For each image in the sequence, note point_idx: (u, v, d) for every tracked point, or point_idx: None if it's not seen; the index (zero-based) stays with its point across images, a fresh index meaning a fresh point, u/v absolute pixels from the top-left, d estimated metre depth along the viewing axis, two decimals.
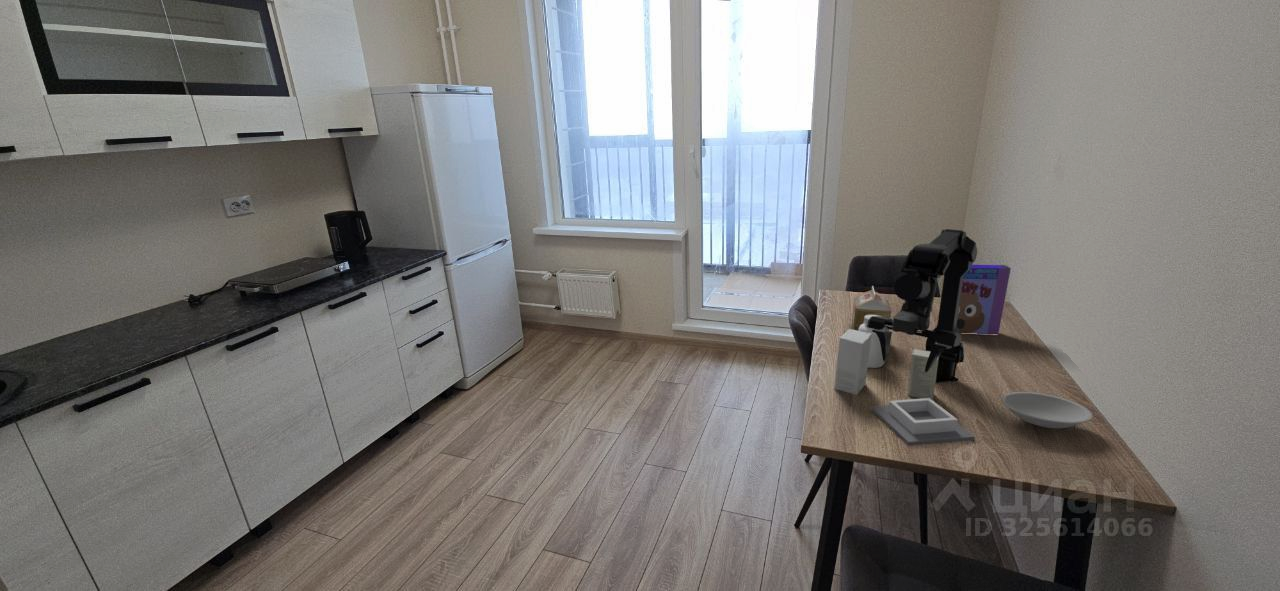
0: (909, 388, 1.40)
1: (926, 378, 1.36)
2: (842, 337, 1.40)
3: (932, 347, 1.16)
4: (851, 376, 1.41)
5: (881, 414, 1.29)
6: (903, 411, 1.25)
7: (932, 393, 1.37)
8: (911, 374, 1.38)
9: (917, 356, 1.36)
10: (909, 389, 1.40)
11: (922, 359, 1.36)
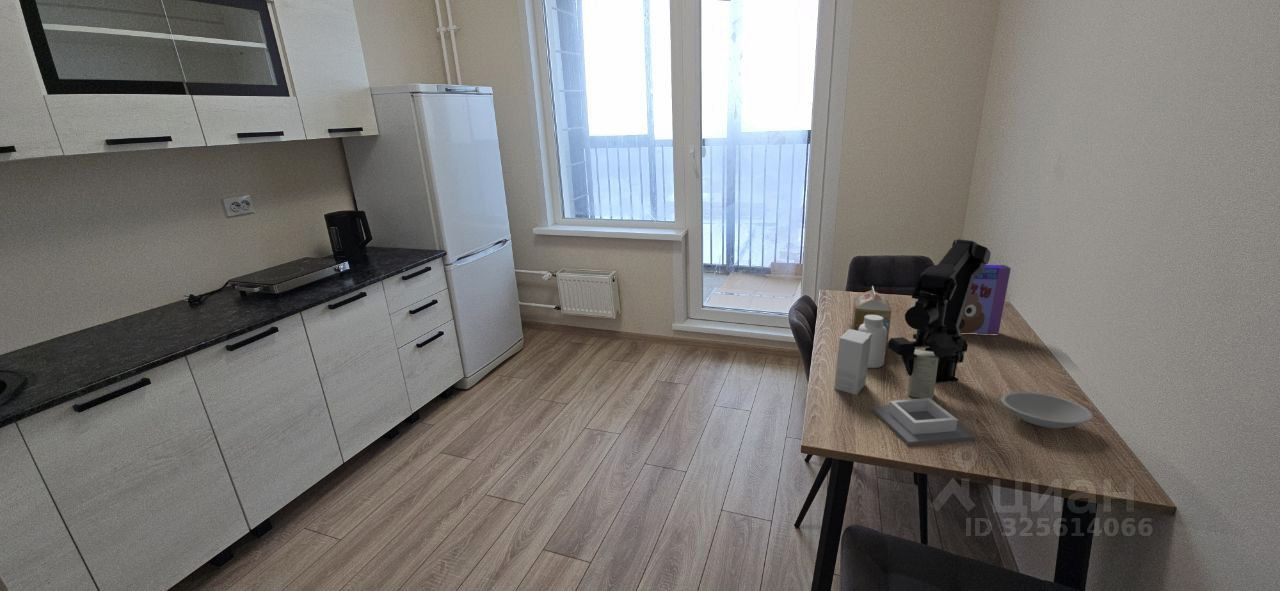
0: (908, 388, 1.40)
1: (926, 378, 1.36)
2: (842, 337, 1.40)
3: (947, 355, 1.35)
4: (851, 376, 1.41)
5: (881, 414, 1.29)
6: (903, 411, 1.25)
7: (932, 393, 1.37)
8: None
9: None
10: (909, 389, 1.40)
11: (922, 359, 1.36)
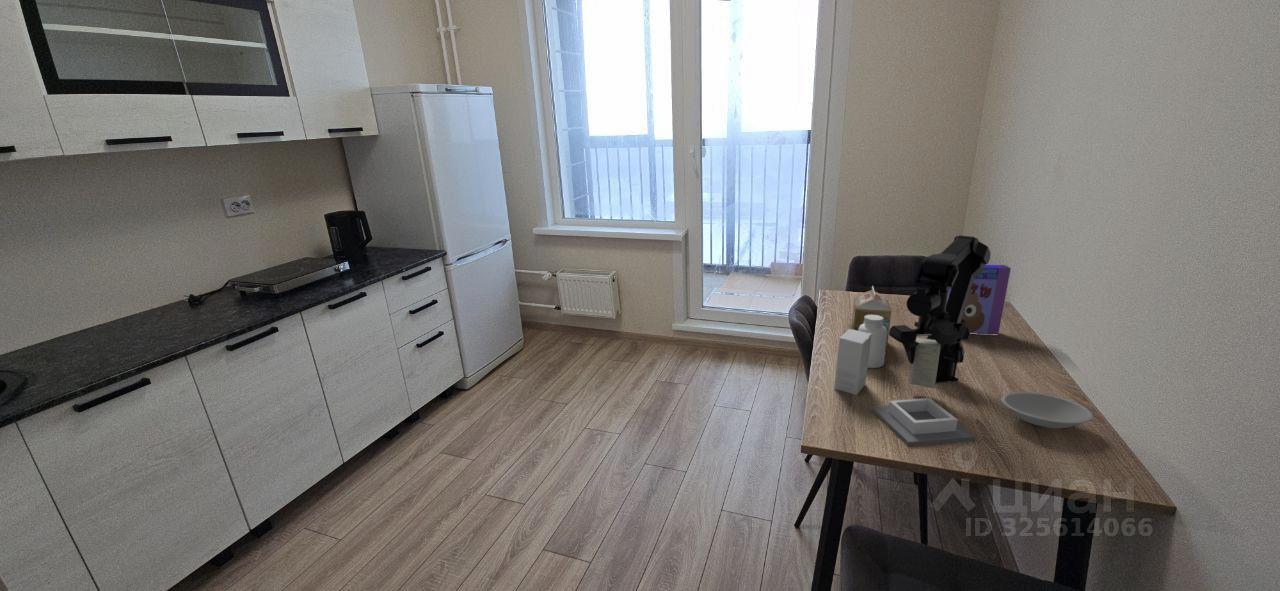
0: (910, 376, 1.39)
1: (928, 366, 1.35)
2: (842, 337, 1.40)
3: (949, 343, 1.34)
4: (851, 376, 1.41)
5: (881, 414, 1.29)
6: (903, 411, 1.25)
7: (934, 381, 1.36)
8: (913, 362, 1.37)
9: (919, 344, 1.35)
10: (910, 377, 1.39)
11: (924, 347, 1.35)
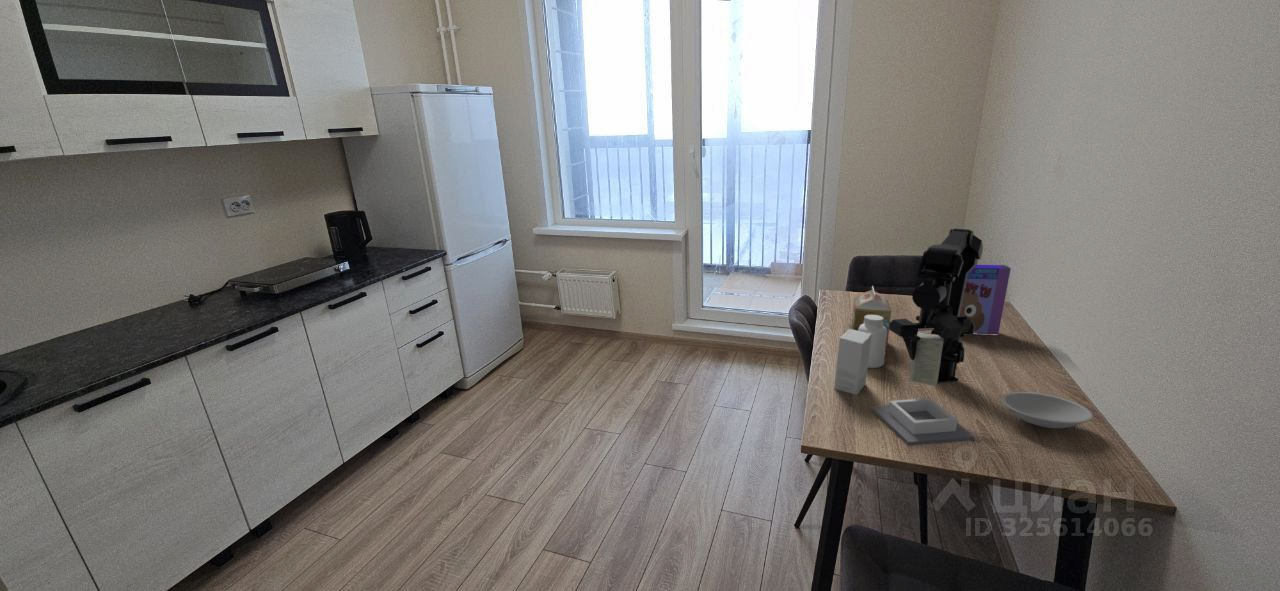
0: (911, 373, 1.32)
1: (930, 362, 1.29)
2: (842, 337, 1.40)
3: (952, 338, 1.27)
4: (851, 376, 1.41)
5: (881, 414, 1.29)
6: (903, 411, 1.25)
7: (936, 378, 1.29)
8: None
9: (921, 339, 1.28)
10: (911, 374, 1.32)
11: (926, 341, 1.28)
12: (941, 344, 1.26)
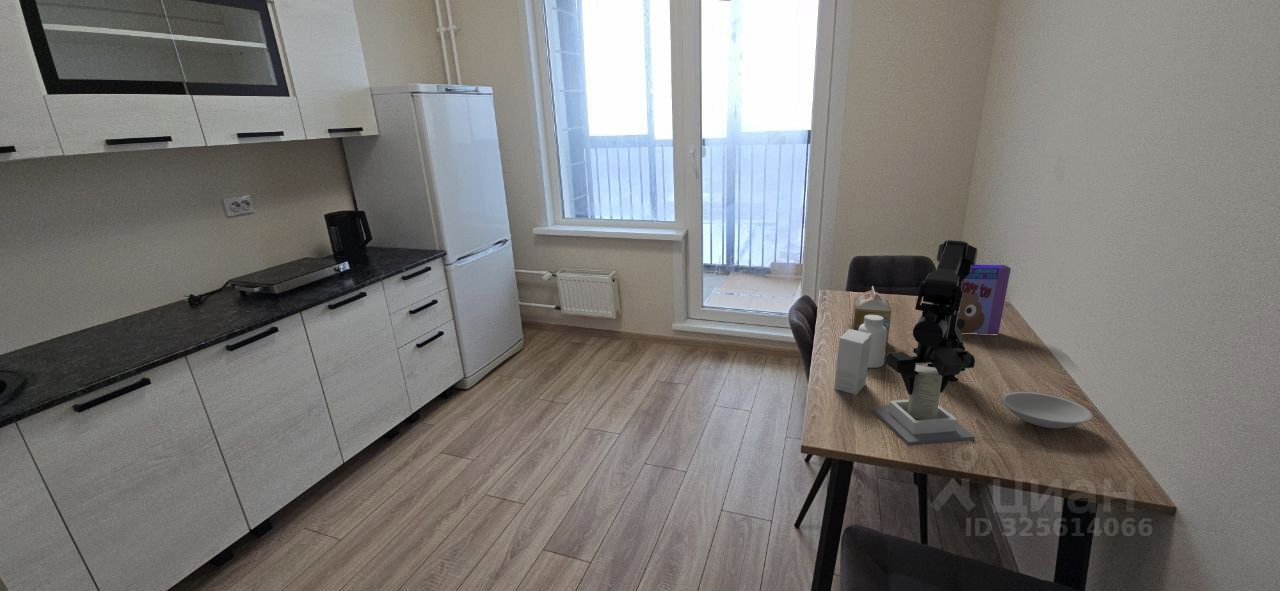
0: (908, 408, 1.25)
1: (929, 397, 1.22)
2: (842, 337, 1.40)
3: None
4: (851, 376, 1.41)
5: (881, 414, 1.29)
6: (903, 411, 1.25)
7: (935, 414, 1.22)
8: None
9: (919, 373, 1.21)
10: (909, 409, 1.25)
11: (924, 376, 1.21)
12: (940, 379, 1.19)
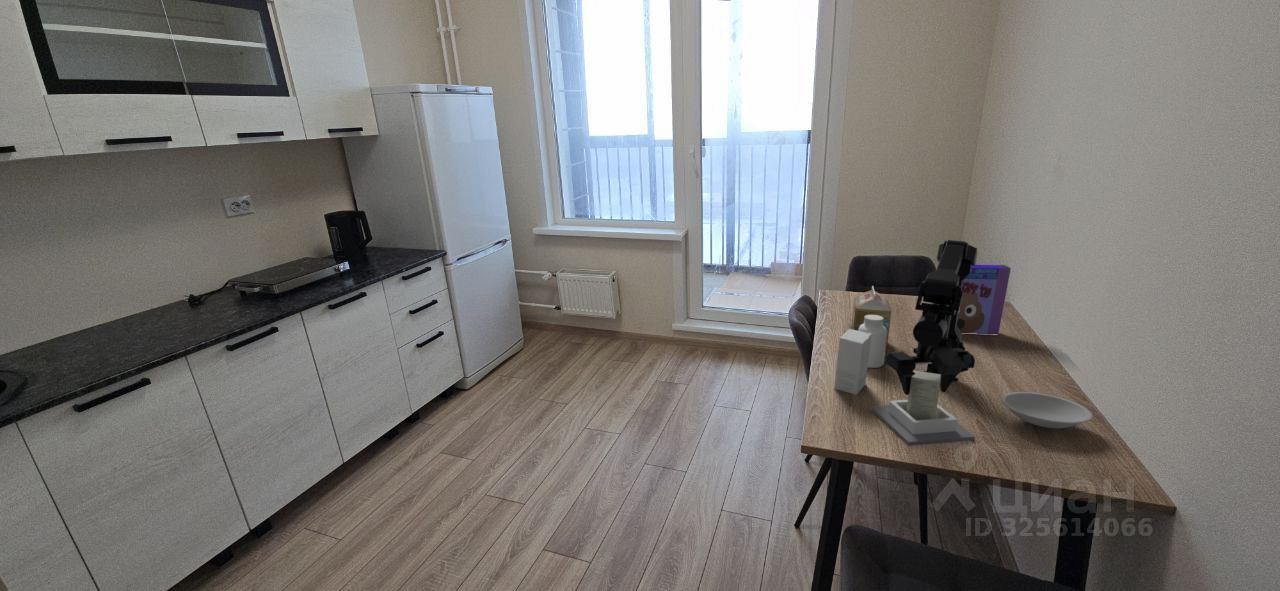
0: None
1: (927, 403, 1.22)
2: (842, 337, 1.40)
3: None
4: (851, 376, 1.41)
5: (881, 414, 1.29)
6: (903, 411, 1.25)
7: None
8: (910, 398, 1.24)
9: (917, 379, 1.22)
10: None
11: (922, 382, 1.21)
12: (938, 385, 1.20)
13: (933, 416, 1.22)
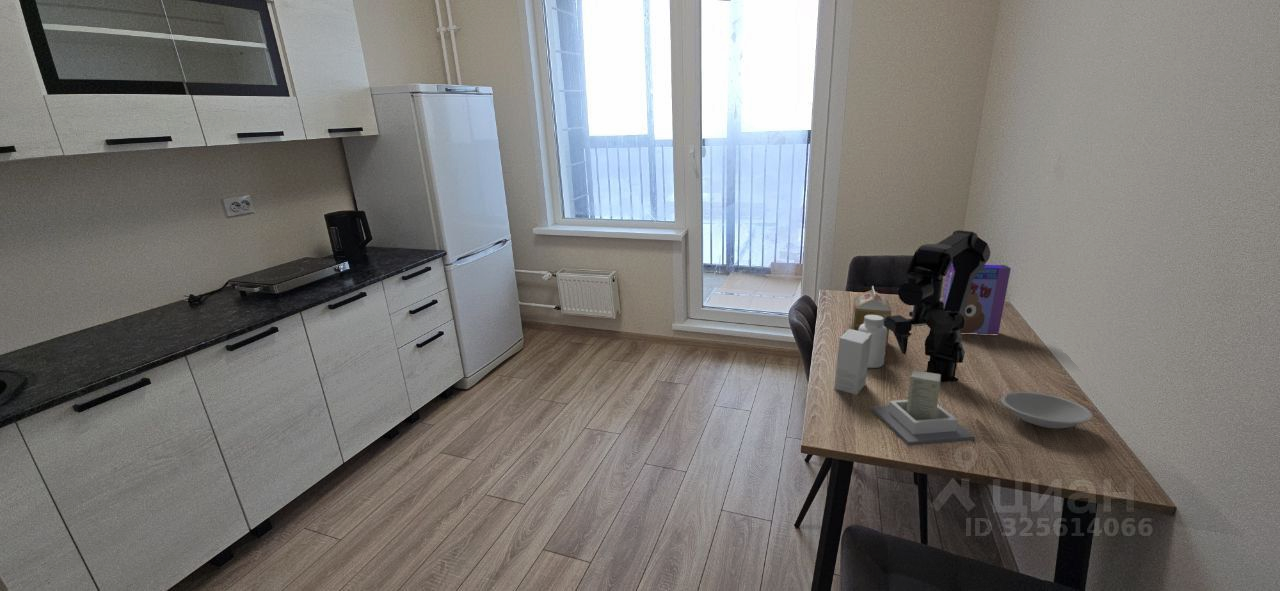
0: None
1: (927, 403, 1.22)
2: (842, 337, 1.40)
3: (947, 332, 1.33)
4: (851, 376, 1.41)
5: (881, 414, 1.29)
6: (903, 411, 1.25)
7: None
8: (910, 398, 1.24)
9: (917, 378, 1.22)
10: None
11: (922, 381, 1.21)
12: (938, 385, 1.20)
13: (933, 416, 1.22)
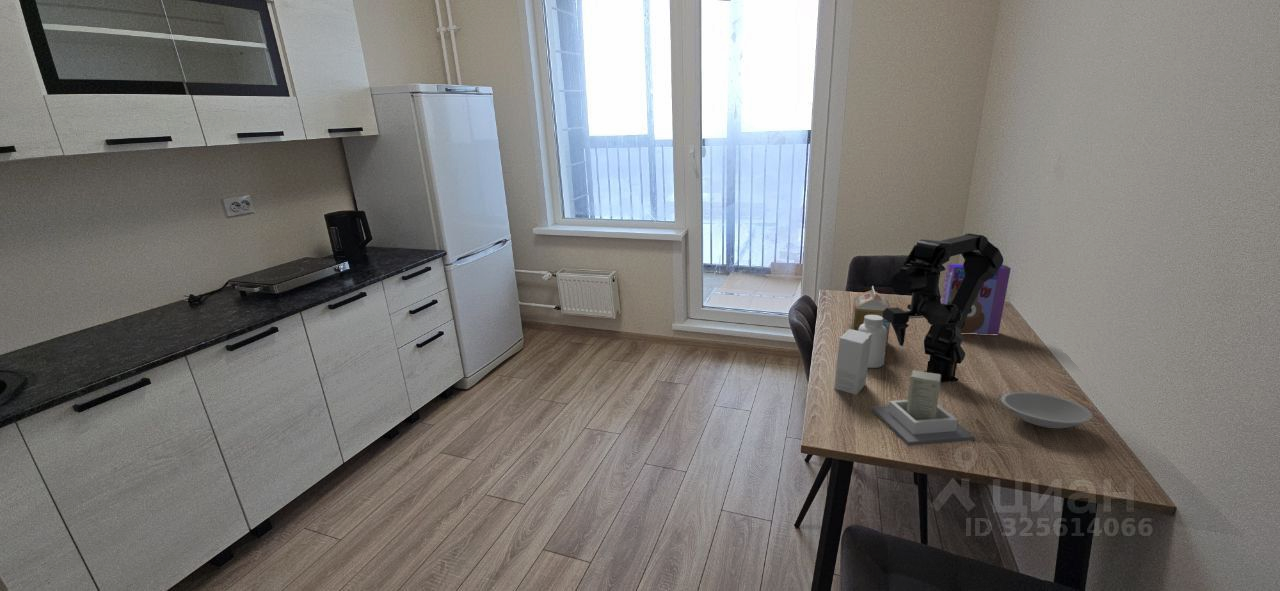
0: None
1: (927, 403, 1.22)
2: (842, 337, 1.40)
3: (944, 325, 1.37)
4: (851, 376, 1.41)
5: (881, 414, 1.29)
6: (903, 411, 1.25)
7: None
8: (910, 398, 1.24)
9: (917, 378, 1.22)
10: None
11: (922, 381, 1.21)
12: (938, 385, 1.20)
13: (933, 416, 1.22)
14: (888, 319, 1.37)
